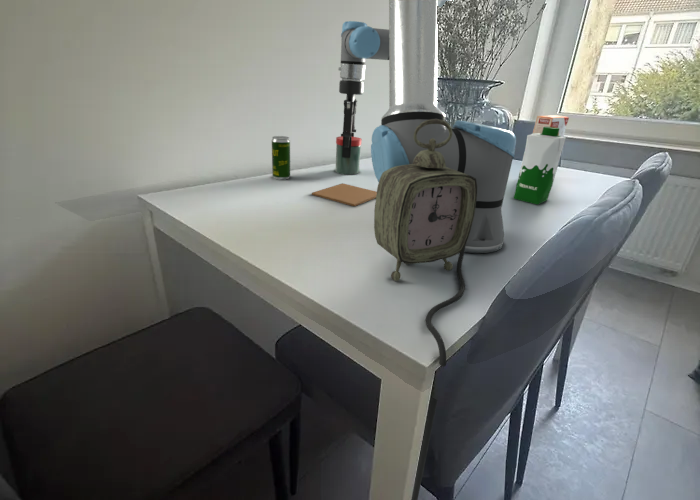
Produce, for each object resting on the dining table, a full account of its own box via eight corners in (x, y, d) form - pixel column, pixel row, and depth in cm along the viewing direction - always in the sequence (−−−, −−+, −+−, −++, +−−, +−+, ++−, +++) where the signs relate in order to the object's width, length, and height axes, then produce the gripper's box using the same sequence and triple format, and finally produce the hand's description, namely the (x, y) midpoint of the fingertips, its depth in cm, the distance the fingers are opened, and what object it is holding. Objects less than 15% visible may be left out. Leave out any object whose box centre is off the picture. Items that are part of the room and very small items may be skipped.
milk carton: (551, 200, 113) (571, 129, 105) (539, 206, 107) (559, 131, 99) (521, 193, 118) (538, 125, 110) (508, 198, 112) (525, 126, 104)
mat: (354, 206, 98) (354, 204, 97) (311, 194, 105) (311, 192, 104) (382, 195, 108) (383, 193, 108) (342, 185, 115) (342, 183, 115)
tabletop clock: (390, 288, 61) (410, 122, 51) (364, 263, 69) (376, 114, 58) (462, 273, 67) (492, 123, 57) (431, 252, 75) (453, 115, 64)
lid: (351, 147, 122) (352, 141, 121) (330, 143, 126) (331, 137, 125) (366, 144, 128) (366, 138, 128) (345, 140, 133) (346, 135, 132)
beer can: (283, 174, 123) (283, 135, 118) (293, 178, 119) (293, 138, 114) (269, 176, 119) (267, 136, 114) (278, 180, 116) (278, 139, 111)
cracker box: (537, 180, 135) (553, 117, 127) (520, 176, 139) (535, 115, 131) (553, 175, 144) (570, 116, 135) (537, 172, 148) (552, 114, 139)
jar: (350, 175, 126) (351, 142, 122) (330, 171, 130) (331, 139, 126) (363, 172, 132) (365, 140, 128) (344, 167, 136) (346, 137, 132)
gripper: (343, 78, 129) (339, 148, 139) (335, 79, 110) (332, 160, 120) (365, 80, 129) (360, 149, 138) (361, 81, 110) (356, 162, 119)
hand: (347, 154), depth 129 cm, fingers closed on lid, 8 cm apart
